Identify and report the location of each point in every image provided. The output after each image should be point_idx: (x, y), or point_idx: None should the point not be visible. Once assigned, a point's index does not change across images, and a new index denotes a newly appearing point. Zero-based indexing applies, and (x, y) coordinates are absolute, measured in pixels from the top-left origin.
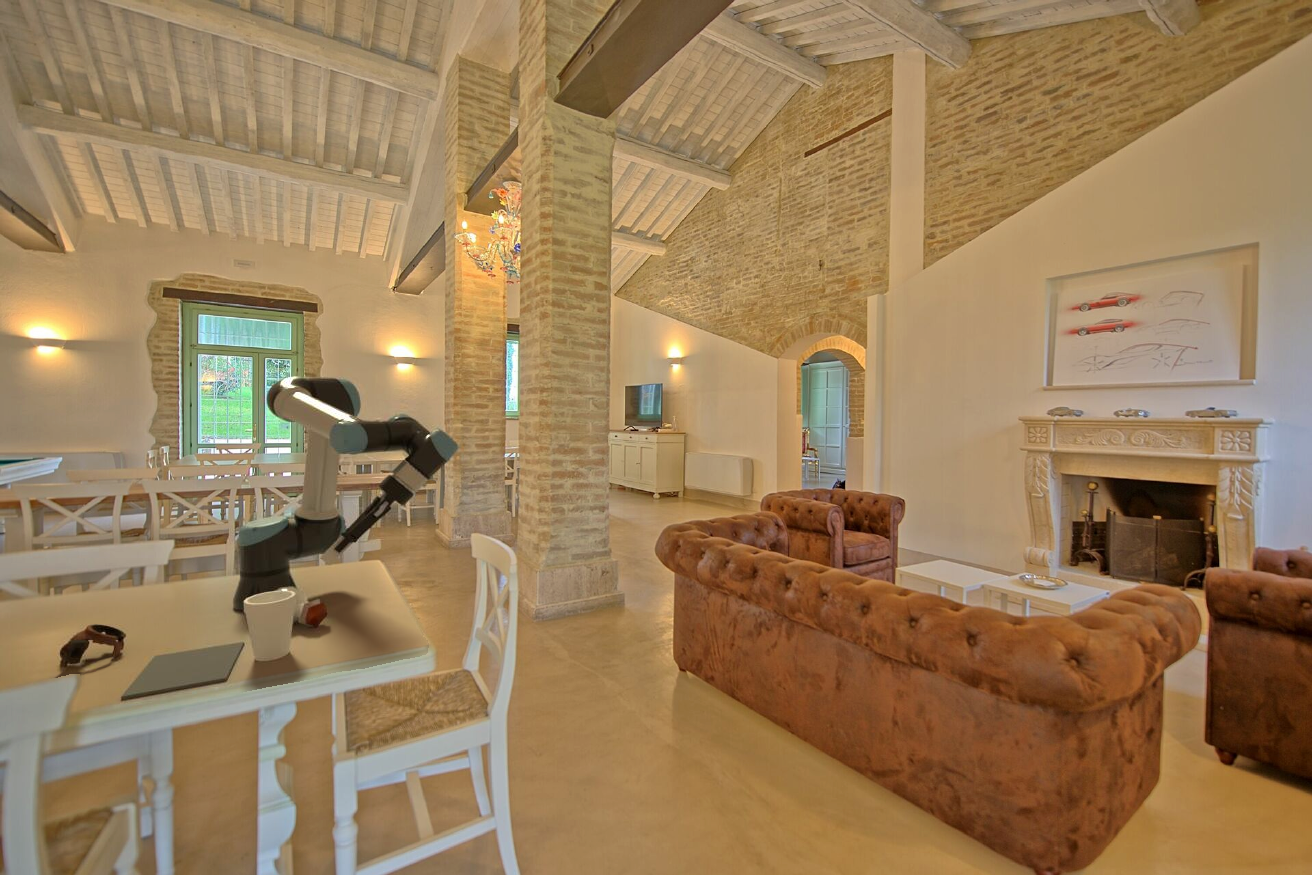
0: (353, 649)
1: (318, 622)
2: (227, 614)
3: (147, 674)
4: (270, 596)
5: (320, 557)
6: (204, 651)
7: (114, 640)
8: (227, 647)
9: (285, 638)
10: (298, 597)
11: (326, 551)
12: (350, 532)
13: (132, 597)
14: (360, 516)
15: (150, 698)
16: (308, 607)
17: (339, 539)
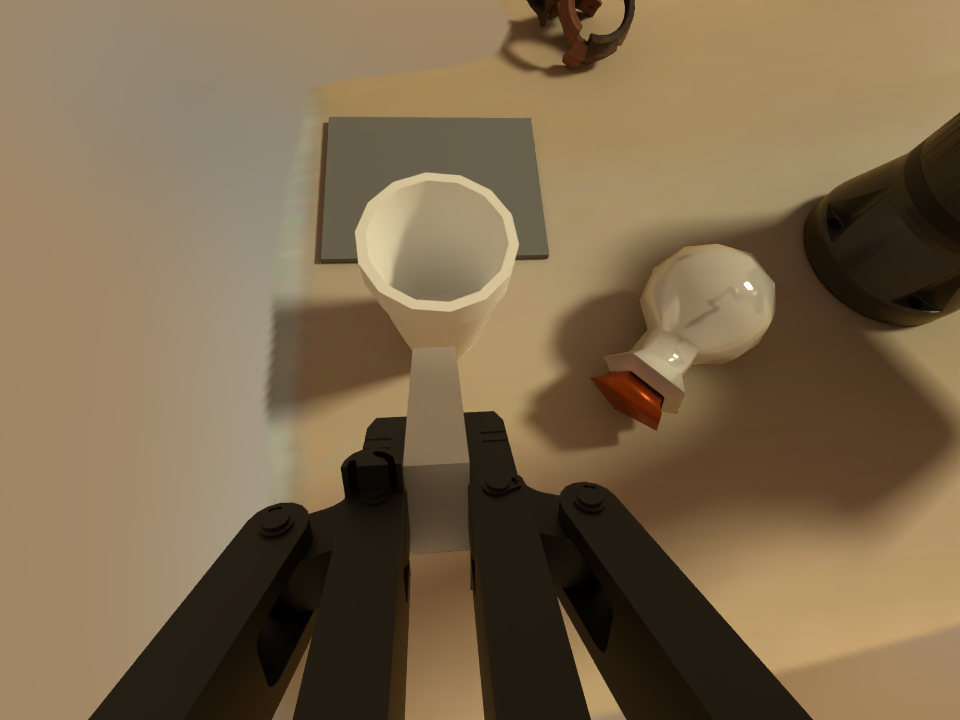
0: None
1: (623, 410)
2: (789, 190)
3: (425, 129)
4: (502, 240)
5: (429, 348)
6: (516, 192)
7: (574, 32)
8: (522, 229)
9: (409, 342)
10: (698, 328)
11: (429, 370)
12: (220, 564)
13: (950, 12)
14: (701, 708)
15: (307, 160)
16: (630, 369)
17: (405, 443)
